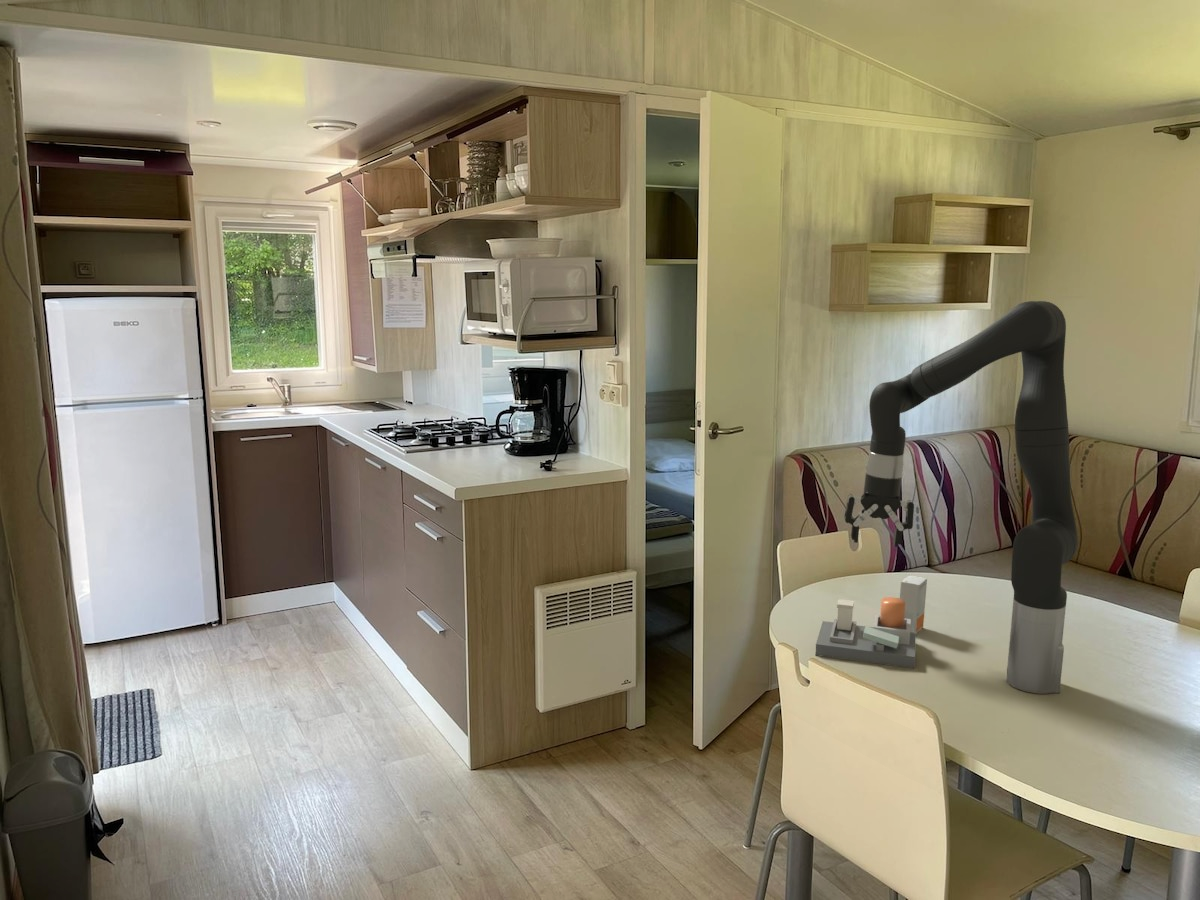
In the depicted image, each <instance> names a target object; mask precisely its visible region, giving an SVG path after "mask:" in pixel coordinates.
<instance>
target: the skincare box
mask: <svg viewBox="0 0 1200 900" xmlns="http://www.w3.org/2000/svg"><path fill="white" fill-rule="evenodd" d="M927 584H928V578H925V577H920V576H915V575H908V576H907V577H905V578H903V580H901V582H900V590H899V599H902V600H904V601H905V602H906V605H905V619H911V626H910V632H916V634H918V632H919V631H921V630H922V629H923V628H924V623H925V608H926V598H927V587H928V586H927Z"/></svg>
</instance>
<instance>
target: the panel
mask: <svg viewBox="0 0 1200 900" xmlns="http://www.w3.org/2000/svg"><path fill="white" fill-rule="evenodd" d="M880 615H881V614H880ZM880 615H879V614H874V617H873V618H874V619H873V624H872V626H870V627H871V628H874V629H877V630H880V631H883V632H886V633H889V634H892V635H896V636H899V640H898V646H897V649H896V648H893V647H890V646H887V645H884V644H881V643H877V642H874V641H871V640H868V639H865V638H863V634H864V629H865V626H866V625H858V624H857V621H855V620H852V628H851V631H850V630H842V629H837V618H834V619H833V621H824V620H822V623H821V626H820V629H819V632H818V636H817V640H816V643H815V656H819V655H822V656H821V657H825V658H826V657H828V658H834V659H843V660H850V661H856V662H857V661H858V662H863V663H864V662H865V663H871V664H872V663H873V664H878V665H879V664H881V665H887V666H893V667H901V668H909V669H915V665H916V664H915V663H916V635H917V633H916V632H910V626H911V619H905V620H904V626H902V627H888V626H885V625H882V624H881V623H880Z"/></svg>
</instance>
